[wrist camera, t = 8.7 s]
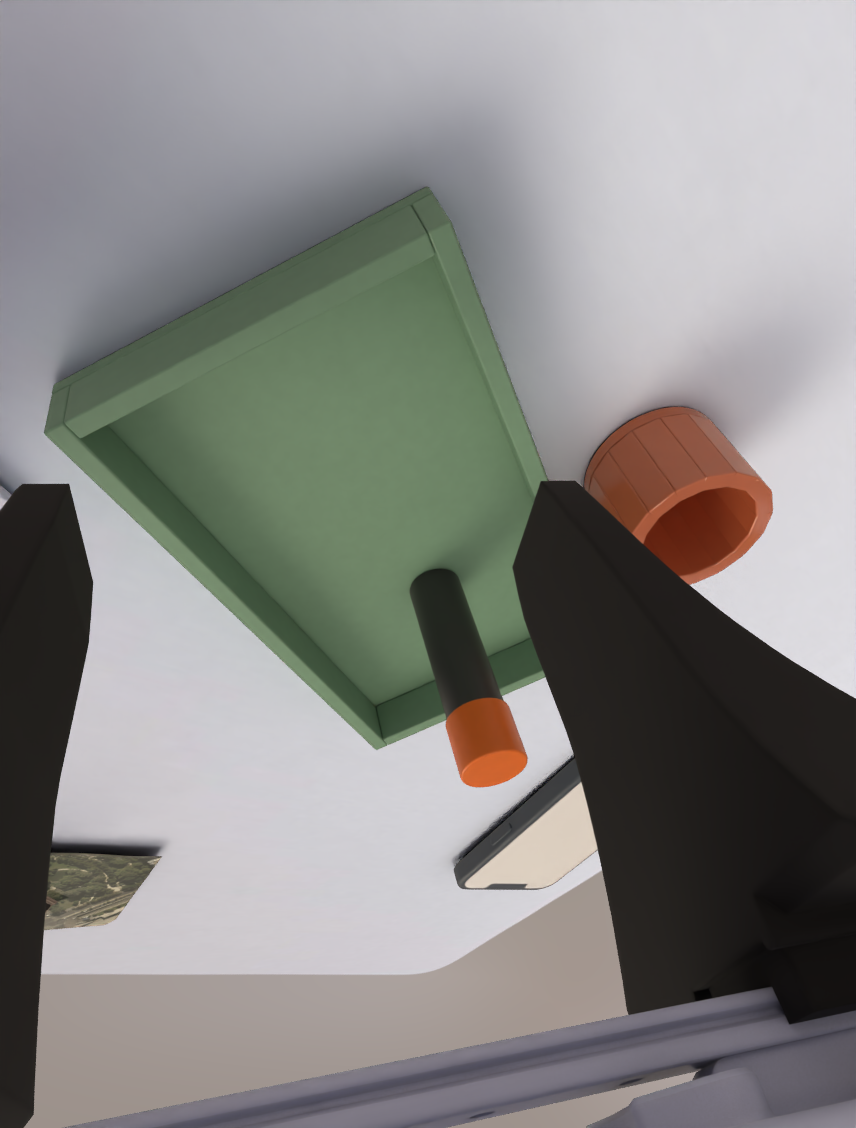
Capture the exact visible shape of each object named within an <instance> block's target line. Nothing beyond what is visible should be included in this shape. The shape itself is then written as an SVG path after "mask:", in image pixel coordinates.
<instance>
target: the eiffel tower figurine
mask: <svg viewBox="0 0 856 1128" xmlns="http://www.w3.org/2000/svg"><path fill="white" fill-rule="evenodd" d="M161 857H162V856H122V855H107V854H86V853H51V855H50V864H49V875H48V887H47V899H46V910H45V922H44V930H50V929H62V928H73V927H85V926H99V925H105V924H108V923H110V922H112V921H113V920H115V919H116V918H117V917H118V915H119V914H120V913H121V911H122V910H123V909H124V907H125V906H126V904H127V903H128V902H129V900H130V899H131V898H132V896H133V895H134V894H135V892H136V891H137V890H138V888H139V887H140V886H141V884H142V883H143V882H144V880H145V879H146V878H147V876H148V875H149V874H150V872H151V871H152V869H153V868H154V867H155V865H156V864H157V863H158V861H159V860H160V859H161Z"/></svg>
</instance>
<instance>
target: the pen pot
mask: <svg viewBox="0 0 856 1128" xmlns="http://www.w3.org/2000/svg"><path fill="white" fill-rule="evenodd" d="M584 489H585V490H586V491H587V492H588V493H589V494H590V495H592V496H593V497H594V498H595V499H596V500H597V501H598V502H599V503H600V504H601V505H602V506H603V507H604V508H605V509H606V510H608V511H609V512H610V513H611V514H612V515H613V516H614V517H615V518H616V519H617V520H618V521H619V522H620V523H621V524H622V525H623V526H624V527H625V528H626V529H628V530H629V531H630V532H631V533H632V534H633V535H634V536H635V537H636V538H637V539H638V540H639V541H640V542H641V543H642V544H644V545H645V546H646V547H647V548H648V549H649V550H650V551H651V552H652V553H653V554H654V555H656V556H657V557H658V558H659V559H660V560H661V561H662V562H663V563H664V564H666V565H667V566H668V567H669V568H670V569H671V570H672V571H673V572H675V573H676V574H677V575H678V576H679V577H680V578H682V579H683V580H684V581H685V582H686V583H687V584H689V585H691V584H692V583H697V582H699V581H701V580H703V579H706V578H708V577H710V576H713V575H715V574H717V573H719V572H720V571H722V570H724V569H725V568H727V567H728V566H729V565H731V564H732V563H734V562H735V561H736V560H738V559H739V558H741V557H742V556H743V554H745V553H746V552H747V551H748V550H749V549H750V548H751V547H752V546H753V544H754V543H755V542H756V541H757V540H758V539H759V538H760V537H761V535H762V534H763V533H764V531H765V529H766V526H767V524H768V522H769V520H770V518H771V515H772V513H773V512H772V511H773V502H772V491H771V489H770V488H769V487H768V486H767V485H766V483H765V482H764V481H763V480H762V479H761V478H760V476H759V475H758V474H757V473H756V472H755V471H754V469H753V468H752V467H751V466H750V465H749V464H748V462H747V461H746V460H745V459H744V458H743V457H742V456H741V454H740V453H739V452H738V451H737V450H736V449H735V447H734V446H733V445H732V444H731V443H730V442H729V440H728V439H727V438H726V437H725V436H724V435H723V434H722V432H721V431H720V430H719V429H718V428H717V427H716V426H715V424H714V423H713V422H712V421H711V420H710V419H709V418H708V417H707V416H706V415H704V414H703V413H701V412H699V411H697V410H694V409H691V408H686V407H667V408H662V409H657V410H654V411H651V412H648V413H645V414H643V415H640V416H638V417H636V418H635V419H633V420H631V421H629V422H628V423H626V424H625V425H623V426H621V427H620V428H619V429H618V430H616V431H615V432H614V433H613V434H612V435H611V436H610V437H608V438H607V439H606V440H605V442H604V443H603V444H602V445H601V446H600V447H599V449H598V450H597V452H596V453H595V454H594V456H593V458H592V460H591V461H590V464H589V466H588V468H587V472H586V475H585V482H584Z"/></svg>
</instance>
